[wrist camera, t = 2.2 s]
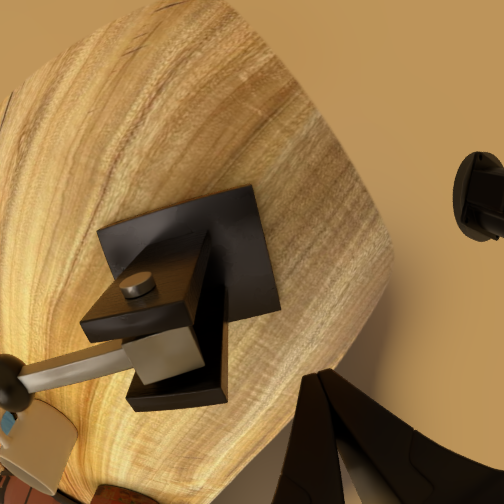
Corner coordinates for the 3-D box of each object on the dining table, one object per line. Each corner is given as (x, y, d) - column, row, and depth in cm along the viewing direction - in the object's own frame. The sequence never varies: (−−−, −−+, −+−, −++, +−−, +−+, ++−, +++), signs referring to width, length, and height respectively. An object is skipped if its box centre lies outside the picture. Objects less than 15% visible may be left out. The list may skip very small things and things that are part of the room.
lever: (16, 391, 11) (2, 426, 8) (-12, 348, 10) (-34, 379, 7) (199, 341, 14) (211, 380, 11) (177, 285, 12) (183, 316, 10)
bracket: (145, 331, 21) (103, 435, 11) (102, 226, 18) (7, 289, 8) (279, 302, 21) (313, 413, 11) (250, 182, 18) (272, 212, 8)
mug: (89, 441, 27) (68, 502, 16) (51, 436, 27) (29, 487, 16) (37, 378, 23) (-3, 442, 12) (3, 377, 23) (-33, 429, 13)
